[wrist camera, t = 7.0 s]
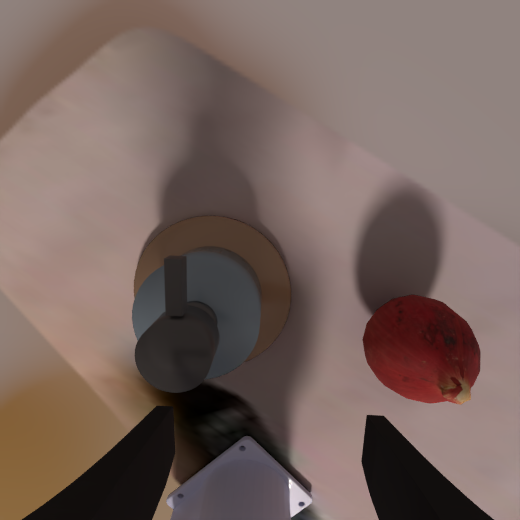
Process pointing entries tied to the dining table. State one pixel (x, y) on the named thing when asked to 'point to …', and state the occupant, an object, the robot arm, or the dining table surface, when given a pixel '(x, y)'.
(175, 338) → the pump head
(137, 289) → the dispenser
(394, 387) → the red round fruit
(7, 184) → the dining table surface
